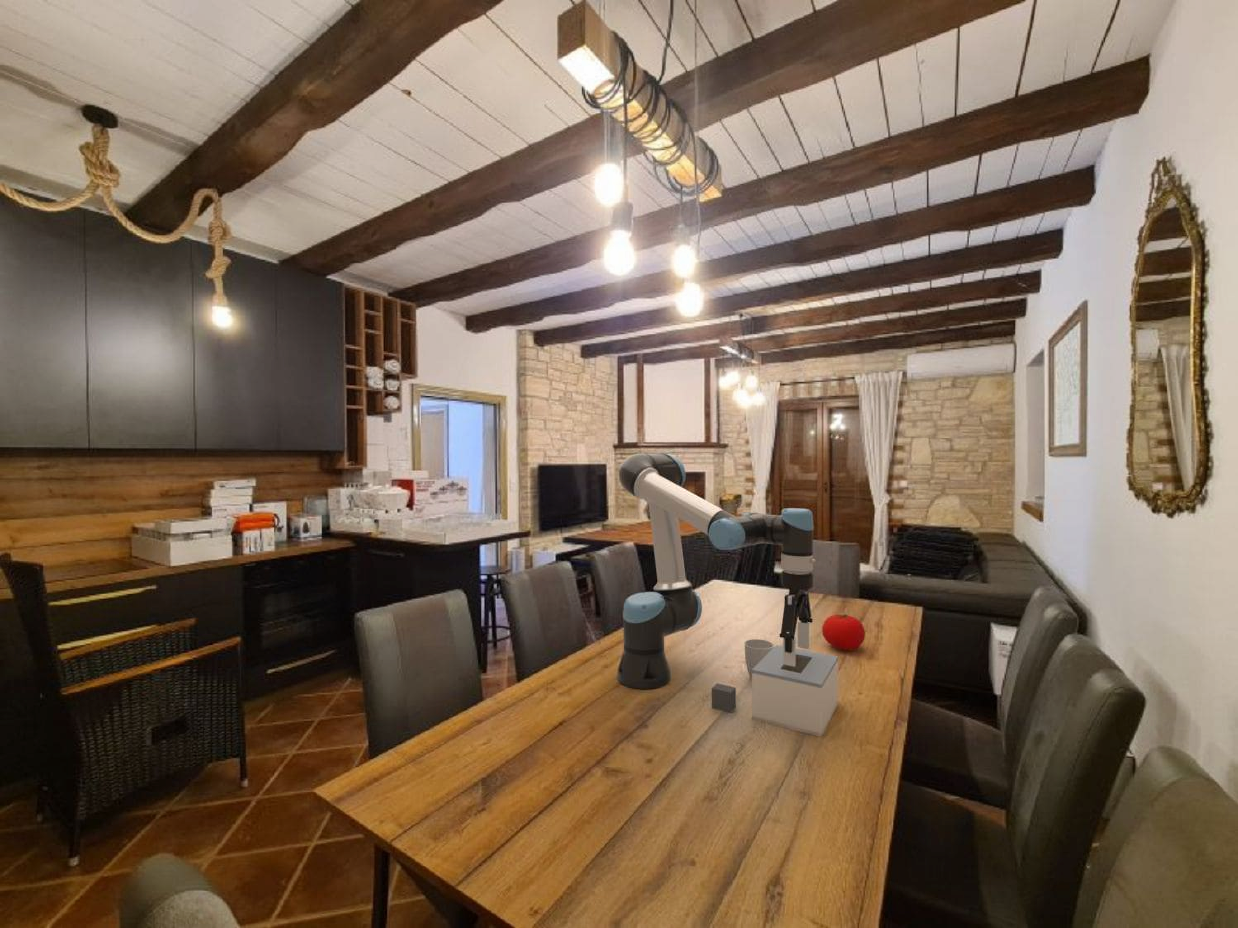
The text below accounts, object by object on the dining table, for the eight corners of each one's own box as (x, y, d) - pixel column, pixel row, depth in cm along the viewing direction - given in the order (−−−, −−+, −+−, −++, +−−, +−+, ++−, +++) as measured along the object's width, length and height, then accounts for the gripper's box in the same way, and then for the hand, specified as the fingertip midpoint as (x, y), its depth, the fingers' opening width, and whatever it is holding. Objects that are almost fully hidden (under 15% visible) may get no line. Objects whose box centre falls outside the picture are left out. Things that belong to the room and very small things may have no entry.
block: (711, 707, 137) (711, 688, 137) (716, 702, 140) (717, 683, 140) (730, 712, 134) (730, 692, 134) (735, 707, 137) (735, 687, 137)
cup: (774, 685, 150) (774, 649, 150) (744, 683, 151) (744, 647, 151) (772, 674, 158) (772, 640, 157) (743, 671, 159) (743, 638, 159)
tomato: (873, 651, 176) (873, 617, 176) (841, 656, 171) (841, 622, 171) (845, 639, 187) (845, 608, 187) (815, 644, 182) (815, 612, 182)
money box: (752, 718, 131) (752, 669, 131) (775, 688, 148) (776, 644, 148) (821, 737, 122) (821, 684, 122) (838, 702, 139) (838, 656, 139)
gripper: (799, 582, 122) (799, 676, 122) (823, 563, 143) (823, 643, 143) (766, 578, 126) (766, 669, 126) (794, 561, 147) (794, 638, 147)
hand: (796, 656), depth 135 cm, fingers open, 13 cm apart
